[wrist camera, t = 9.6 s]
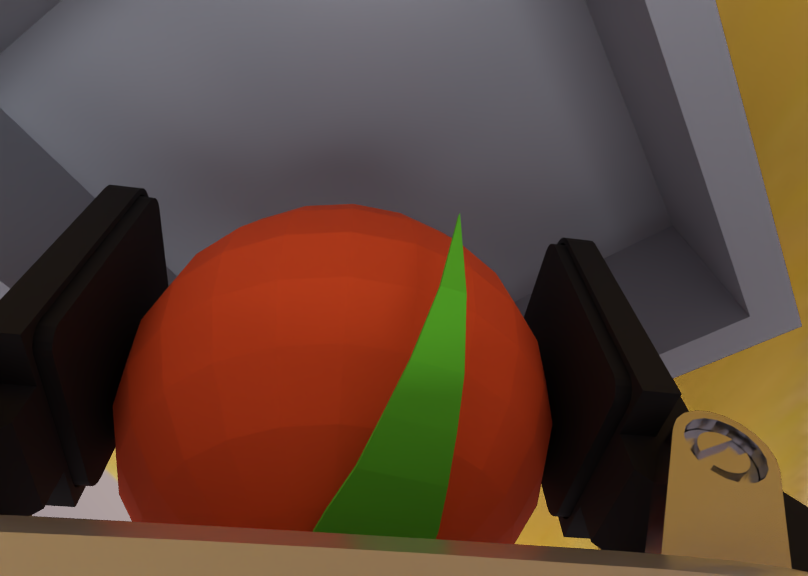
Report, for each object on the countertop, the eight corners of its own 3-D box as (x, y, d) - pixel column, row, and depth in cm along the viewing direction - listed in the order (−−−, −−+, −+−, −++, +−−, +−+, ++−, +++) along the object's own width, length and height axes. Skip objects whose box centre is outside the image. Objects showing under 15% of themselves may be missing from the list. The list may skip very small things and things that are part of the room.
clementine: (229, 19, 9) (-15, 248, 3) (594, 157, 11) (843, 468, 5) (164, 363, 13) (4, 725, 8) (433, 425, 15) (469, 761, 9)
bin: (705, 224, 18) (802, 325, 14) (305, 414, 22) (287, 534, 18) (472, -445, 10) (534, -680, 6) (-77, 59, 14) (-262, 129, 10)
